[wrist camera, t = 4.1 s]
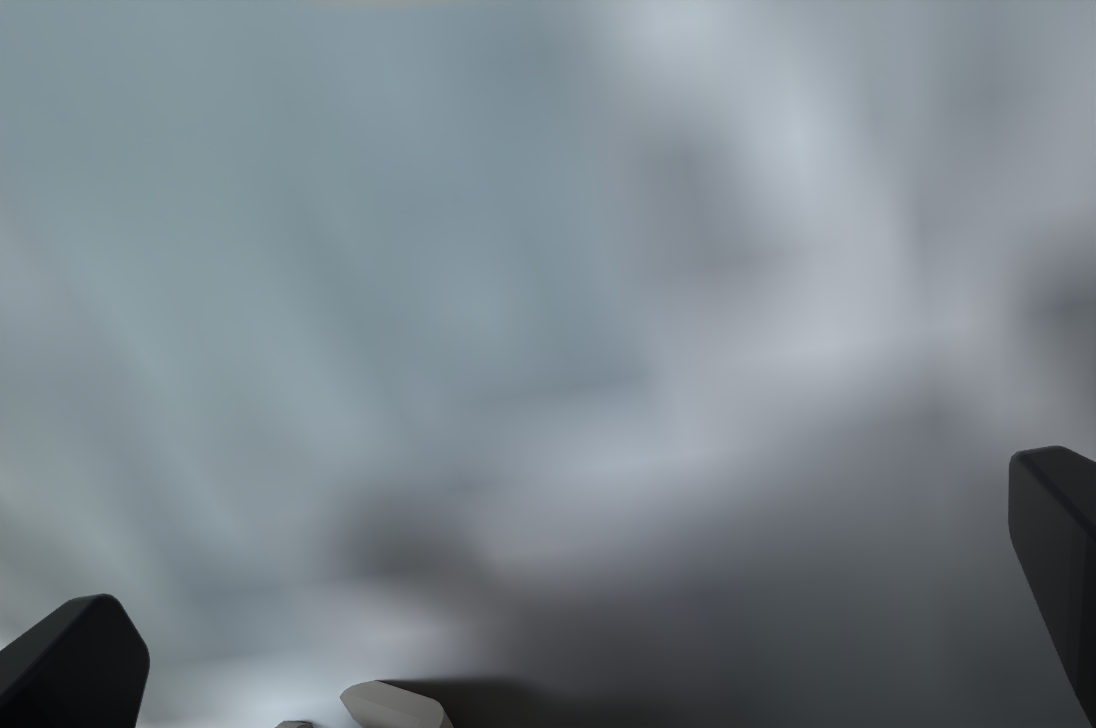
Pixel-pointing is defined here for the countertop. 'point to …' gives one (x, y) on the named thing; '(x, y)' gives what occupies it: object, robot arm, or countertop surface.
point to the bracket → (387, 708)
